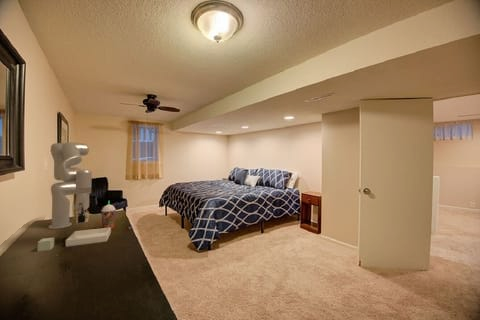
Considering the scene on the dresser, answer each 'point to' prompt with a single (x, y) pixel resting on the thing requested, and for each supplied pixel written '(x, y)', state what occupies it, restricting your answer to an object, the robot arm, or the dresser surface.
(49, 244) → the sage block
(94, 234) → the tray
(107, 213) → the smoothie
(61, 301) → the dresser surface
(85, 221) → the maple block
